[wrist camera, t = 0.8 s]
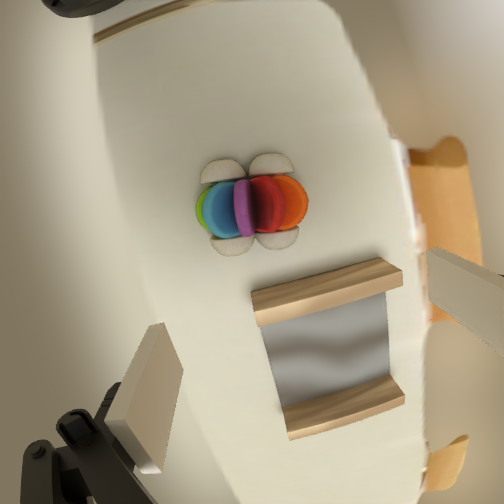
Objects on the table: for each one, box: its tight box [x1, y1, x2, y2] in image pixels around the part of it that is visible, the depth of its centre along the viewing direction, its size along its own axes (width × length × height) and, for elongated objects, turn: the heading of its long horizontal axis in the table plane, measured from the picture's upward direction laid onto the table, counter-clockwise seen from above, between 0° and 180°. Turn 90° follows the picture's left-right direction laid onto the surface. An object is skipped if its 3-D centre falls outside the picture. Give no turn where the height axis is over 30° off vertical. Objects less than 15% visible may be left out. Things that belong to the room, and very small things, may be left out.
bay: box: [251, 257, 405, 440], centre depth 32 cm, size 17×14×5 cm
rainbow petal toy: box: [196, 153, 309, 256], centre depth 27 cm, size 8×10×7 cm
